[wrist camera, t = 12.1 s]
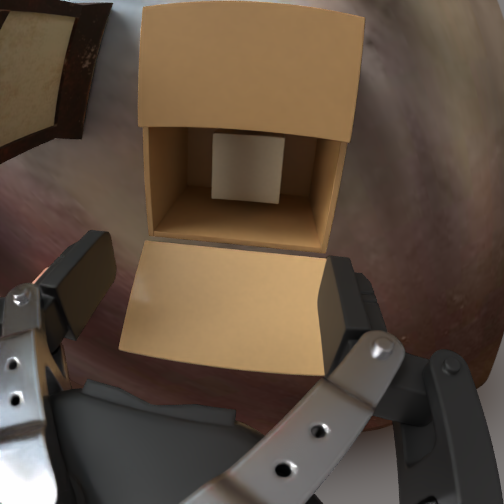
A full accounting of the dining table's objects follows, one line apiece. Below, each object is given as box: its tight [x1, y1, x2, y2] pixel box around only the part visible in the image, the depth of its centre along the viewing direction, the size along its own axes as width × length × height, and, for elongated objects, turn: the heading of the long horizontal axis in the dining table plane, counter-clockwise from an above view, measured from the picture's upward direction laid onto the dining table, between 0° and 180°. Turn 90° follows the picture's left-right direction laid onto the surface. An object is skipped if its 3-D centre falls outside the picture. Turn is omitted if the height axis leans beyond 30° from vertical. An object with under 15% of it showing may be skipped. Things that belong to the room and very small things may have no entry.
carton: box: [138, 1, 365, 254], centre depth 20 cm, size 15×12×10 cm
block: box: [211, 128, 285, 204], centre depth 24 cm, size 5×5×5 cm
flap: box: [119, 240, 327, 376], centre depth 18 cm, size 7×12×1 cm
